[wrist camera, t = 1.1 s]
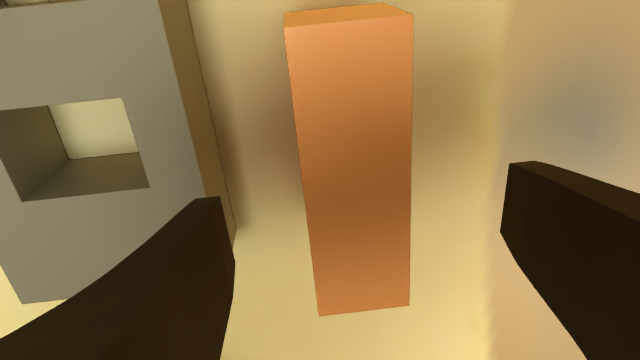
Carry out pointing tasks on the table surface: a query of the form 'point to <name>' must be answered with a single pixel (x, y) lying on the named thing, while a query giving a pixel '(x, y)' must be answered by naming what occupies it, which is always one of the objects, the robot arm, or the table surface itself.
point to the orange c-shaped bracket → (354, 150)
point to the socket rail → (107, 171)
